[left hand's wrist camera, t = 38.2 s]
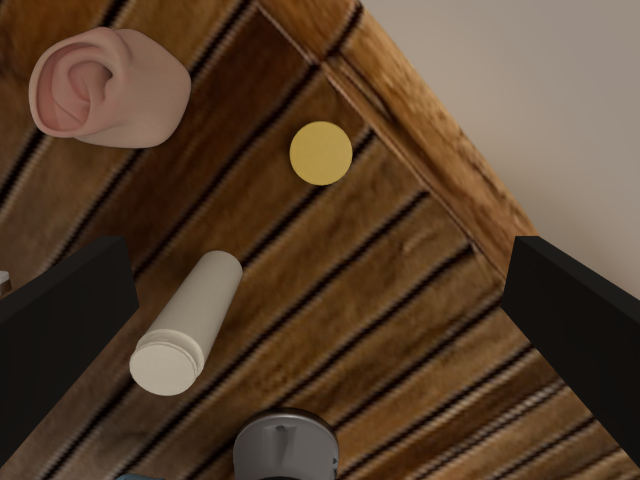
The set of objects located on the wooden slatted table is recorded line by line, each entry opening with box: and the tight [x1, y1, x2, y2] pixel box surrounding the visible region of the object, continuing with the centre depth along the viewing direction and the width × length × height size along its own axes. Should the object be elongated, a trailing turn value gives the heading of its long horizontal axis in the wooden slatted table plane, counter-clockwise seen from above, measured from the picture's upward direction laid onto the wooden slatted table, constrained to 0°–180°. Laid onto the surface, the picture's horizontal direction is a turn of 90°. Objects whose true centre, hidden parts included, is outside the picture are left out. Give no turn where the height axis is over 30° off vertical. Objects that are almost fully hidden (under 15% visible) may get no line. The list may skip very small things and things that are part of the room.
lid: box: [290, 121, 352, 185], centre depth 37 cm, size 6×6×2 cm
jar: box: [129, 251, 242, 396], centre depth 35 cm, size 5×5×17 cm
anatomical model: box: [29, 27, 191, 148], centre depth 34 cm, size 13×4×12 cm
